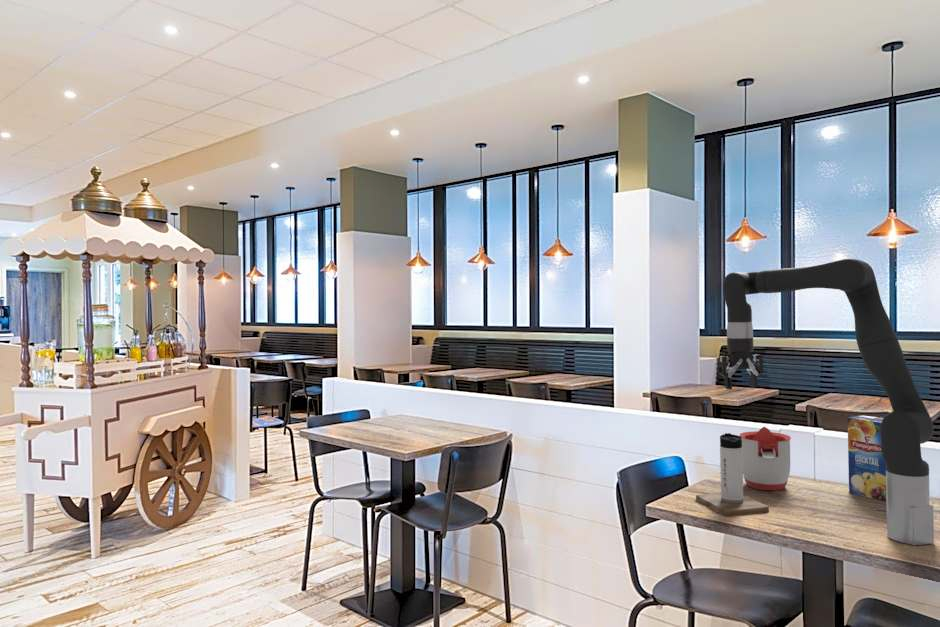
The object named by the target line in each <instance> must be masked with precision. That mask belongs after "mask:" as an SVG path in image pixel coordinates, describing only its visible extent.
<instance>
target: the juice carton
mask: <svg viewBox="0 0 940 627" xmlns="http://www.w3.org/2000/svg"><path fill="white" fill-rule="evenodd" d="M883 418H884V417H877V416H868V415H864V414H863V415H855V416H850V417H849V416H848V417H847V443H848V444H847V448H848V449H847V452H848V453H847V454H848V455H847V456H848V457H847V458H848V460H847V461H848V462H847V463H848V493H850V494H854V495H858V496H863V497H865V498H869V499H874V500H876V501H880V502H881V501H882V502H885V503H886V464H885V462H884V460H883V457H882V447H881V423H882V420H883Z"/></svg>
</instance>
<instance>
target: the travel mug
mask: <svg viewBox="0 0 940 627" xmlns="http://www.w3.org/2000/svg"><path fill="white" fill-rule="evenodd" d="M719 441H720V442H719V455H720V456H719V459H720V460H719V461H720V462H719V464H720V465H719V466H720V493H721V500H722V501H723V502H725V503H730V504H740V503H742V502H743V495H744V475H743V463H742V438H741V437H740V436H739V435H737V434H732V433H731V432H728V433H727V432H726V433H724V434H721V435H720V436H719Z"/></svg>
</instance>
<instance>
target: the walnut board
mask: <svg viewBox="0 0 940 627" xmlns="http://www.w3.org/2000/svg"><path fill="white" fill-rule="evenodd" d="M695 500H696V501H697V502H699V503H701V504H703V505H704V506H706V507H709V508H710V509H712V510H714V511H715V512H717V511H718V513H720V514H721V515H723V516H726V517H730V516H731V517H732V516H737V515H738V516H742V515H750V514H760V513H761V514H762V513H769V512H770V511H769V510H770V507H769V505H766V504H764V503H762V502H760V501H757V500H755V499H753V498H751V497H749V496H748V495H747V496H746V495H745V494H743V502H742V503H740V504H730V503H725V502H723V501H722V500H721V492H715V493H705V494H696V495H695Z"/></svg>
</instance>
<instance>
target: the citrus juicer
mask: <svg viewBox="0 0 940 627" xmlns="http://www.w3.org/2000/svg"><path fill="white" fill-rule="evenodd" d="M738 436H740V437H741V438H742V463H743V480H744V481H745V483H746V485H747V486H748V487H751V488H753V489H754V490H764V491H781V490H783V489H785V488H786V486H787V484H788V481H789V477H790V473H791V472H790V471H791V439H792V438H791V436H789V435H787V434H786V433H785V434H784V433H781V432H773V431H771V430H770V429H768V428H767V427H766V426H762V428H760V429H759V430H758V431H755V430H754V431H745V432H741V433H739V435H738Z"/></svg>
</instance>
